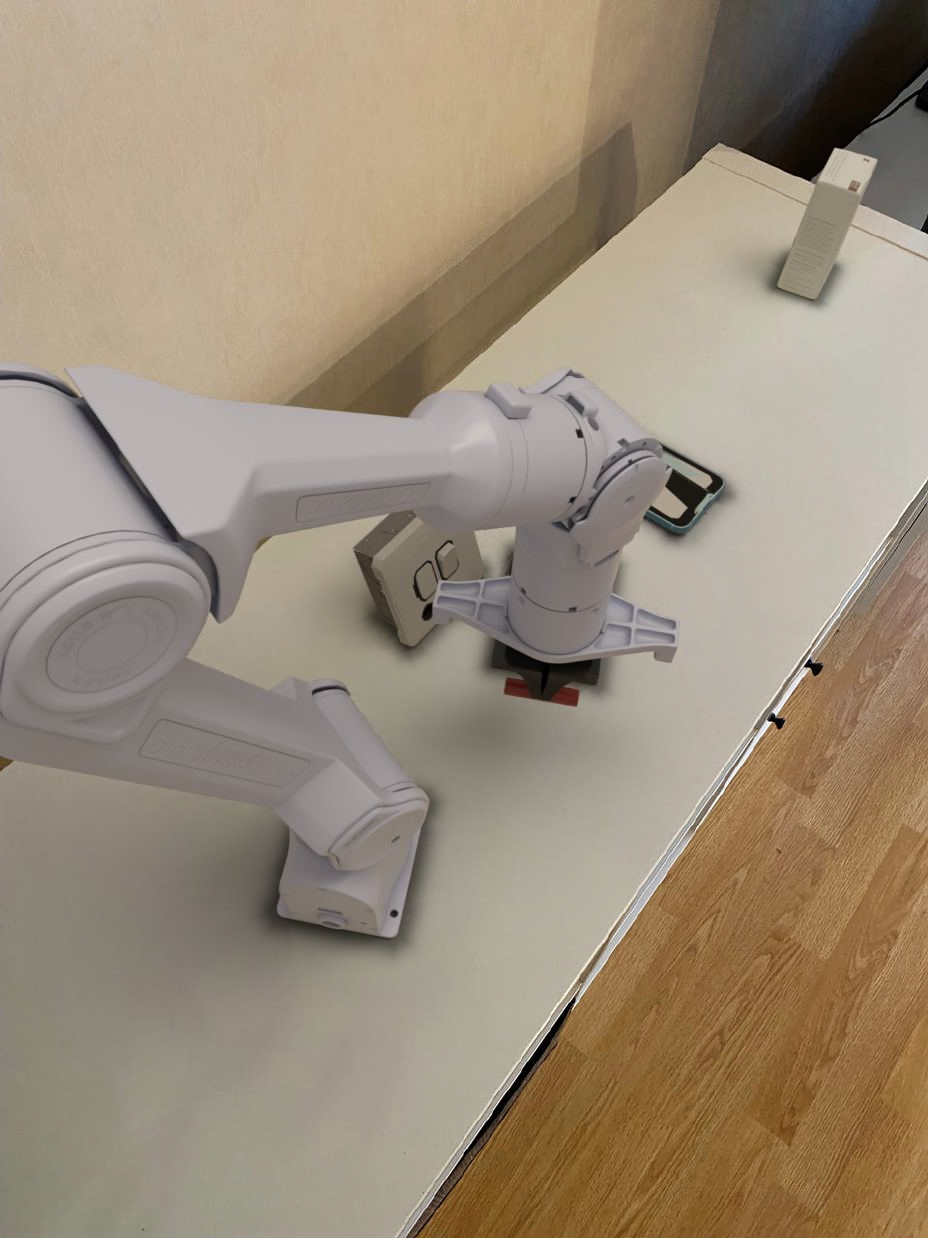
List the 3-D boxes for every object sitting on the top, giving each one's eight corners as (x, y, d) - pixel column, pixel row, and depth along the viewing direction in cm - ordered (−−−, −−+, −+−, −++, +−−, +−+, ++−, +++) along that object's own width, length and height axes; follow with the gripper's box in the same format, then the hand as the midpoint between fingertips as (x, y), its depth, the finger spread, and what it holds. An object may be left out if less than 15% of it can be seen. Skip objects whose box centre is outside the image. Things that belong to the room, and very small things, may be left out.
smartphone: (585, 399, 87) (730, 479, 81) (584, 407, 87) (728, 487, 82) (535, 446, 83) (683, 532, 78) (535, 454, 84) (681, 540, 79)
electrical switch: (410, 653, 73) (396, 577, 66) (360, 620, 75) (341, 543, 68) (486, 575, 77) (481, 495, 70) (437, 546, 79) (427, 465, 72)
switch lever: (575, 714, 66) (579, 697, 64) (502, 701, 66) (504, 684, 64) (594, 575, 72) (599, 555, 70) (528, 564, 73) (530, 544, 71)
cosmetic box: (792, 254, 99) (832, 142, 89) (835, 268, 98) (880, 156, 88) (774, 289, 96) (813, 177, 86) (817, 304, 95) (862, 192, 85)
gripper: (699, 533, 55) (655, 654, 66) (448, 493, 56) (448, 619, 67) (692, 637, 51) (647, 746, 62) (423, 593, 52) (427, 708, 64)
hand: (542, 686), depth 65 cm, fingers closed, pressing on switch lever
